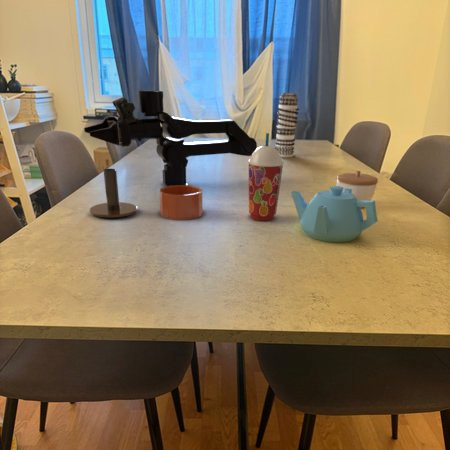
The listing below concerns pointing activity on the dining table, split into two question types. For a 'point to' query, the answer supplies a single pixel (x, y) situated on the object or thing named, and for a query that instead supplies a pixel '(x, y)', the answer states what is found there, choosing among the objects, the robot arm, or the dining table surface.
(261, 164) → the smoothie
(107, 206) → the brown disc with post
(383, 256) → the dining table surface
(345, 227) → the teapot
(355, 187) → the trinket box
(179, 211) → the crock
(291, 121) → the white patterned cylinder
